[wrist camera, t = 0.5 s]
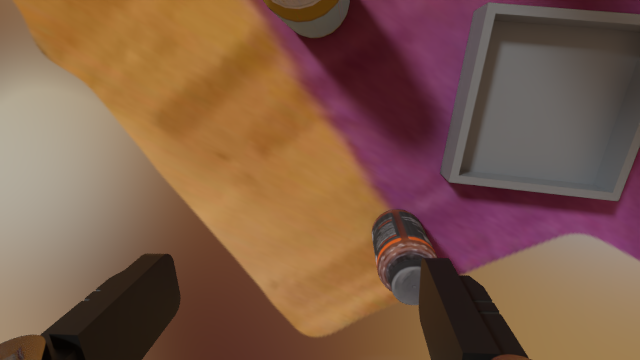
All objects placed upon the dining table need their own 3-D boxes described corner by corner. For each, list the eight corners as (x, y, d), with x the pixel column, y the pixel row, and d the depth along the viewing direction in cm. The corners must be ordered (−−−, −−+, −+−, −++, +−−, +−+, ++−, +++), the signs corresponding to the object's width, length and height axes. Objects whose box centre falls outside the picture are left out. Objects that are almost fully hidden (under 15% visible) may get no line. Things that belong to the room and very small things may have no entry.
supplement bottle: (364, 244, 40) (369, 303, 29) (381, 201, 38) (392, 247, 27) (410, 258, 40) (432, 323, 29) (429, 216, 38) (460, 268, 27)
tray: (474, 11, 32) (488, 2, 28) (652, 25, 30) (689, 18, 27) (439, 173, 36) (448, 182, 33) (592, 190, 35) (618, 201, 32)
